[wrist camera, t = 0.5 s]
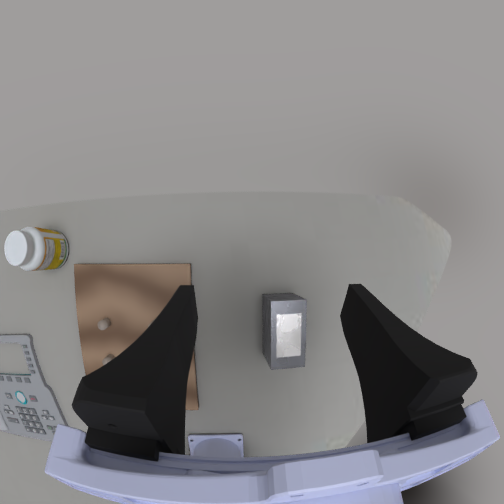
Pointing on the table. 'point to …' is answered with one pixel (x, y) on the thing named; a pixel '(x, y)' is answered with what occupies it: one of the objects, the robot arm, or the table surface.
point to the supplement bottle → (36, 249)
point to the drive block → (284, 330)
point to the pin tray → (124, 309)
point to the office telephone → (28, 397)
